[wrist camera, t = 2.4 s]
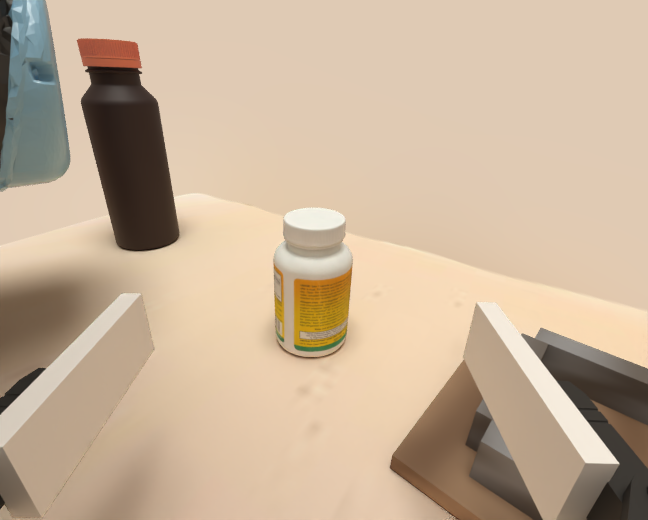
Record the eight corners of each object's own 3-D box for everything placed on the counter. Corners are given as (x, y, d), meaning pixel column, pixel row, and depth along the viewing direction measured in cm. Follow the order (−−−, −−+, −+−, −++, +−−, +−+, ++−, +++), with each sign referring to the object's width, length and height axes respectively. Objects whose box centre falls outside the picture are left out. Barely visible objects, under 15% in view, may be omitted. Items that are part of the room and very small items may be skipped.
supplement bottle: (261, 339, 27) (253, 218, 22) (305, 307, 31) (306, 199, 26) (319, 371, 24) (324, 240, 20) (359, 331, 28) (371, 215, 24)
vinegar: (190, 232, 45) (163, 44, 35) (156, 255, 39) (111, 37, 30) (143, 225, 46) (104, 43, 37) (102, 247, 40) (44, 36, 31)
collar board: (390, 467, 18) (398, 420, 17) (485, 337, 28) (496, 299, 26) (938, 879, 9) (1074, 862, 7) (798, 473, 19) (844, 427, 17)
